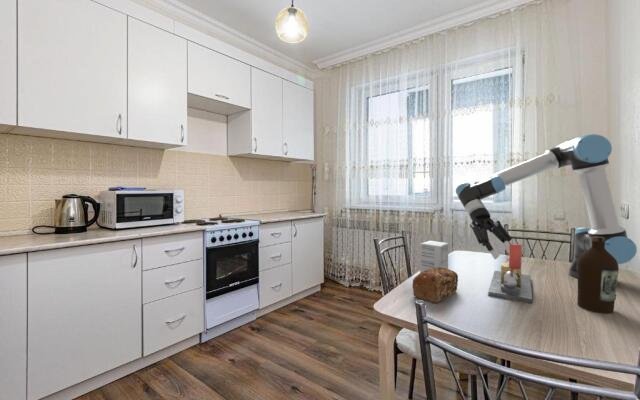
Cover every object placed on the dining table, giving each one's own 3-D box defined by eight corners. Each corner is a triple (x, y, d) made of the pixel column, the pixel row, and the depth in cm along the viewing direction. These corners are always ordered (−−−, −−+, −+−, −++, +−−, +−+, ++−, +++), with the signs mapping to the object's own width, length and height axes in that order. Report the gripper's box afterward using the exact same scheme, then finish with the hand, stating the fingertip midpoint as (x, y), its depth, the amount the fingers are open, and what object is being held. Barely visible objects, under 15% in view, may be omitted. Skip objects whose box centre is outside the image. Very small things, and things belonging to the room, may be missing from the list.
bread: (437, 305, 109) (438, 277, 109) (410, 297, 117) (411, 271, 117) (459, 292, 122) (459, 267, 122) (433, 285, 130) (434, 262, 129)
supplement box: (428, 275, 144) (429, 240, 143) (448, 279, 138) (449, 242, 137) (419, 280, 137) (419, 243, 136) (439, 284, 131) (440, 246, 130)
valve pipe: (494, 273, 147) (495, 251, 146) (529, 278, 139) (530, 255, 138) (488, 295, 118) (489, 268, 118) (532, 303, 111) (533, 274, 110)
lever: (505, 259, 130) (506, 238, 130) (516, 260, 128) (517, 239, 128) (509, 268, 116) (510, 245, 116) (521, 270, 115) (522, 246, 114)
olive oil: (567, 303, 110) (570, 235, 109) (590, 300, 113) (593, 234, 111) (600, 315, 100) (604, 240, 99) (624, 312, 102) (628, 239, 101)
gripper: (492, 216, 140) (520, 260, 125) (453, 217, 136) (478, 263, 121) (501, 206, 135) (532, 250, 120) (461, 207, 131) (488, 252, 116)
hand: (505, 256), depth 120 cm, fingers open, 7 cm apart
